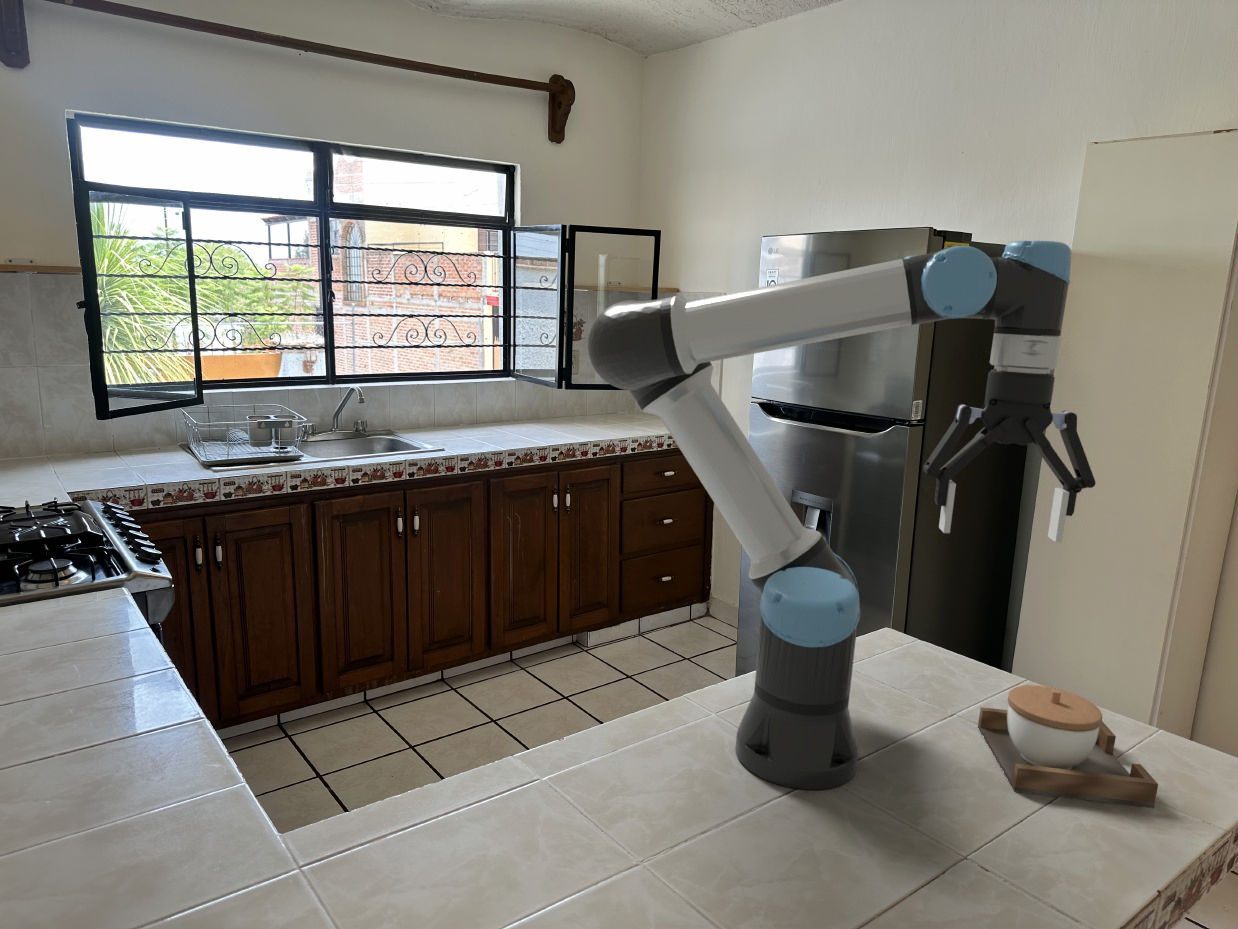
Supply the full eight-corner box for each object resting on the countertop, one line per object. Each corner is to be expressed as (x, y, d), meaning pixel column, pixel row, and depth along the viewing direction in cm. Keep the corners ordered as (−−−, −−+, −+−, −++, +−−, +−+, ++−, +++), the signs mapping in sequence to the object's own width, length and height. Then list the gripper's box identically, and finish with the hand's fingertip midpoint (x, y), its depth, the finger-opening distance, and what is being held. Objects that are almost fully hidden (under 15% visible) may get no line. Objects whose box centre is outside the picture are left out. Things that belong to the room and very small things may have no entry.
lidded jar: (1071, 742, 113) (1082, 677, 112) (1108, 786, 103) (1120, 715, 101) (989, 734, 114) (998, 669, 113) (1017, 777, 104) (1028, 706, 102)
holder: (1014, 791, 102) (1017, 768, 101) (977, 727, 117) (980, 707, 117) (1153, 808, 100) (1158, 784, 99) (1097, 741, 115) (1101, 720, 115)
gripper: (924, 365, 103) (904, 534, 106) (1143, 378, 99) (1114, 551, 103) (912, 362, 110) (894, 519, 114) (1115, 373, 107) (1089, 535, 111)
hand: (998, 535), depth 109 cm, fingers open, 13 cm apart
